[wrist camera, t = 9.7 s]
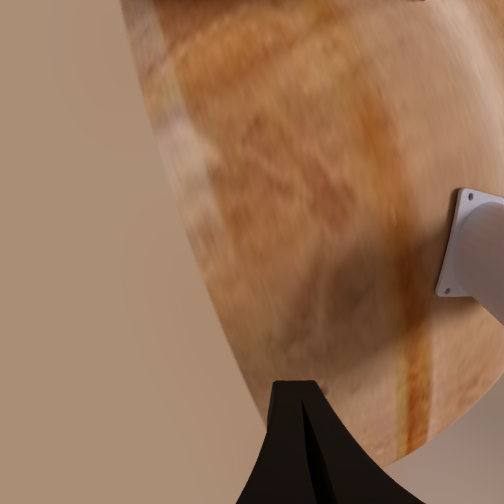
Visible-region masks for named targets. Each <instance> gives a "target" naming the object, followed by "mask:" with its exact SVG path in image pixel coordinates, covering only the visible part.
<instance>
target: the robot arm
mask: <svg viewBox="0 0 504 504" xmlns="http://www.w3.org/2000/svg"><path fill="white" fill-rule="evenodd" d="M469 194H470V198H469V199H468V196H469ZM447 288H448V289H447ZM446 289H447V291H446ZM445 291H446V292H445ZM435 292H436V294H437V295H438V296H439V297H466V296H472V297H473V298H474V299H475V300H476V301H477V302H479V303H480V304H481V305H482V306H483V307H484V308H485V309H486V310H487V311H489V312H490V313H491V314H492V315H493V316H494V317H495V318H496V319H497V320H498V321H499V322H500V323H501V324H502V325H503V326H504V198H502V197H498V196H495V195H491V194H488V193H484V192H480V191H476V190H473V189H469V188H465V187H462V188H461V189H460V190H459V192H458V197H457V203H456V209H455V214H454V219H453V224H452V229H451V233H450V238H449V242H448V246H447V250H446V254H445V258H444V262H443V266H442V269H441V273H440V276H439V280H438V283H437V286H436V290H435ZM236 504H425V503H424V502H422V501H420V500H419V499H418V498H416V497H415V496H414V495H412V494H411V493H410V492H408V491H407V490H405V489H404V488H403V487H401V486H400V485H399V484H398V483H396V482H395V481H394V480H393V479H392V478H391V477H389V475H387V474H386V473H385V472H384V471H383V470H382V469H381V468H380V467H379V466H378V465H377V464H376V463H375V462H374V461H373V460H372V459H371V458H370V457H369V456H368V454H367V453H366V452H365V451H364V450H363V449H362V447H361V446H360V445H359V444H358V443H357V442H356V440H355V439H354V438H353V437H352V435H351V434H350V433H349V431H348V430H347V429H346V427H345V426H344V424H343V423H342V422H341V420H340V419H339V418H338V416H337V415H336V413H335V412H334V410H333V409H332V407H331V406H330V404H329V402H328V401H327V399H326V398H325V396H324V394H323V393H322V391H321V389H320V388H319V386H318V384H317V383H316V382H315V381H314V380H307V381H275V382H274V383H273V385H272V392H271V398H270V404H269V410H268V416H267V433H266V436H265V439H264V442H263V445H262V448H261V450H260V453H259V456H258V459H257V461H256V464H255V466H254V468H253V471H252V473H251V475H250V477H249V479H248V481H247V483H246V485H245V487H244V489H243V491H242V493H241V495H240V497H239V499H238V500H237V502H236Z"/></svg>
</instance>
